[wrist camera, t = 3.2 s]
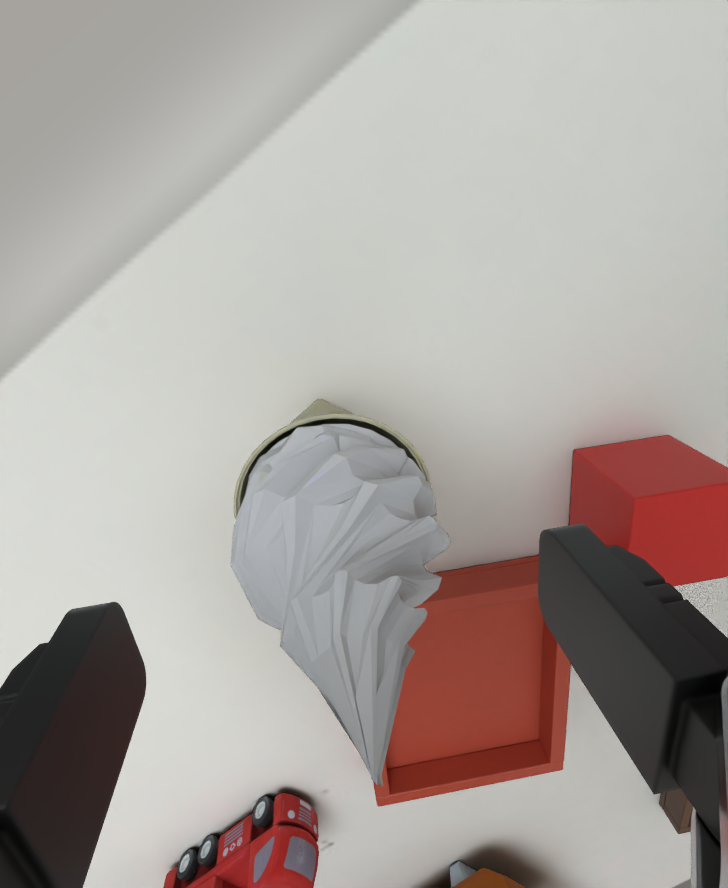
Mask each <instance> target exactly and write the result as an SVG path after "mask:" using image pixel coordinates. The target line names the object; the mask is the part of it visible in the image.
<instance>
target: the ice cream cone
mask: <svg viewBox="0 0 728 888" xmlns="http://www.w3.org/2000/svg"><path fill="white" fill-rule="evenodd" d="M435 515H436V507H435V502H434V496H433V491H432V488H431V483H430V479H429V475H428V471H427V469H426V467H425V465H424V462H423V460H422V458H421V457H420V455H419V454H418V453H417V451H416V450H415V448H414V447H413V446H412V445H411V444H410V443H409V442H408V441H407V440H406V439H405V438H404V437H403V436H402V435H401V434H399V433H398V432H396V431H395V430H393V429H391V428H390V427H388V426H387V425H385V424H382V423H380V422H377V421H375V420H372V419H370V418H366V417H361V416H356V415H354V414H352V413H350V412H348V411H346V410H343V409H341V408H339V407H337V406H335V405H333V404H331V403H329V402H326V401H324V400H322V399H318V400H316V401H315V402H314V403H313V404H312V405H310V406H309V407H308V408H307V409H306V410H305V411H304V412H302V413H301V414H300V415H299V416H298V417H297V418H296V419H295V420H293V421H292V422H291V423H290V424H289V425H288V426H286V427H284V428H282V429H280V430H278V431H277V432H276V433H274V434H273V435H271V436H270V437H269V438H267V439H266V440H265V441H264V442H263V443H262V444H261V445H260V446H259V447H258V448H257V449H256V450H255V451H254V452H253V453H252V455H251V456H250V458H249V459H248V461H247V462H246V464H245V465H244V467H243V469H242V471H241V473H240V476H239V478H238V481H237V484H236V489H235V494H234V516H235V520H236V521H235V523H234V529H233V542H232V556H231V567H232V569H233V571H234V573H235V575H236V577H237V579H238V581H239V583H240V585H241V587H242V589H243V590H244V592H245V594H246V596H247V598H248V600H249V602H250V604H251V606H252V608H253V610H254V612H255V614H256V615H257V617H258V619H259V620H261V621H263V622H264V623H266V624H268V625H270V626H272V627H275V628H277V629H279V630H281V642H280V646H281V648H282V649H283V650H284V651H285V652H286V653H287V654H288V655H289V656H290V657H291V658H292V660H293V661H294V662H295V663H296V664H297V665H298V666H299V667H300V668H301V669H302V671H303V672H304V673H305V674H306V675H307V676H308V677H309V678H310V679H311V680H312V681H313V683H314V684H315V685H316V686H317V687H318V689H319V691H320V692H321V694H322V695H323V697H324V698H325V700H326V702H327V703H328V705H329V706H330V708H331V709H332V711H333V712H334V714H335V716H336V717H337V719H338V720H339V722H340V723H341V725H342V727H343V728H344V730H345V731H346V733H347V734H348V736H349V738H350V739H351V741H352V742H353V744H354V745H355V747H356V748H357V750H358V752H359V754H360V755H361V757H362V759H363V761H364V763H365V765H366V767H367V769H368V770H369V772H370V775H371V778H372V780H373V781H374V782H375V784H376V785H378V783H379V784H380V786H381V784H382V785H383V780H382V771H383V767H384V762H385V758H386V753H387V749H388V744H389V740H390V736H391V731H392V727H393V722H394V718H395V713H396V709H397V705H398V700H399V696H400V691H401V687H402V682H403V678H404V673H405V669H406V667H407V666H408V664H409V662H410V660H411V658H412V657H413V655H414V653H415V650H413V649H412V648H411V647H410V646H409V645H408V644H407V642H408V641H409V640H410V639H411V637H412V636H413V635H414V633H415V632H416V631H417V630H418V628H419V627H420V626H421V625H422V623H423V622H424V621H425V619H426V616H427V611H426V609H425V608H417V609H415V608H414V607H416V606H418V605H420V604H422V603H423V602H424V601H425V600H426V599H428V598H429V597H430V596H431V595H432V594H433V593H434V592H436V591H437V590H438V588H439V585H440V582H441V579H442V577H440V576H437V575H435V574H432V573H430V572H427V570H426V569H425V567H424V566H423V565H424V564H426V563H427V562H429V561H430V560H432V559H434V558H435V557H436V556H438V555H439V554H440V553H442V552H443V551H445V550H446V549H447V547H448V545H449V544H450V542H451V541H450V538H449V536H448V533H447V532H446V531H445V530H444V529H443V528H442V527H441V526H440V525H439V524H438V523H437V521H436V520H434V519H433V518H432V516H435ZM381 788H382V787H381Z"/></svg>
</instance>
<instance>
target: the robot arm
mask: <svg viewBox="0 0 728 888" xmlns="http://www.w3.org/2000/svg"><path fill="white" fill-rule="evenodd" d="M538 600H539V605H540V609H541V613H542V616H543V618H544V621H545V623H546V625H547V626H548V628H549V630H550V631H551V633H552V635H553V636H554V638H555V639H556V641H557V642H558V644H559V646H560V647H561V649H562V650H563V652H564V653H565V655H566V657H567V658H568V660H569V661H570V663H571V664H572V666H573V668H574V669H575V671H576V672H577V674H578V675H579V677H580V679H581V680H582V682H583V683H584V685H585V686H586V688H587V690H588V691H589V693H590V694H591V696H592V697H593V699H594V701H595V702H596V704H597V705H598V707H599V709H600V710H601V712H602V713H603V715H604V716H605V718H606V720H607V721H608V723H609V724H610V726H611V727H612V729H613V731H614V732H615V734H616V735H617V737H618V738H619V740H620V742H621V743H622V745H623V746H624V748H625V749H626V751H627V753H628V754H629V756H630V757H631V759H632V760H633V762H634V764H635V765H636V767H637V768H638V770H639V772H640V773H641V775H642V776H643V778H644V779H645V781H646V783H647V784H648V786H649V787H650V789H651V790H652V792H653V794H658V793H663V792H668V791H672V790H677V789H681V790H682V791H683V793H684V794H685V796H686V797H687V798H688V800H689V801H690V803H691V804H692V806H693V810H692V815H691V888H728V638H727V637H726V636H725V635H724V634H723V633H722V632H720V631H719V630H718V629H717V628H716V627H715V626H714V625H713V624H712V623H711V622H710V621H709V620H708V619H707V618H706V617H705V616H704V615H702V614H701V613H700V612H699V611H698V610H697V609H696V608H695V607H694V606H693V605H692V604H691V603H690V602H689V601H688V600H684V599H683V598H682V595H681V594H680V593H679V592H678V591H677V590H676V589H675V588H674V587H673V586H672V585H671V584H670V583H666V582H665V579H664V578H663V577H662V576H661V575H660V574H659V573H658V572H657V571H656V570H655V569H654V568H653V567H652V566H651V565H650V564H648V563H647V562H646V561H645V560H644V559H642V558H640V557H639V556H637V555H635V554H633V553H631V552H629V551H627V550H625V549H623V548H621V547H619V546H618V545H613V546H608V547H607V546H606V545H605V544H604V543H603V542H602V541H601V540H600V539H599V538H598V537H597V536H596V535H595V534H594V533H593V532H592V531H591V530H590V529H589V528H588V527H587V526H586V525H584V524H576V525H570V526H564V527H558V528H553V529H547V530H543V531H542V532H541V535H540V541H539V570H538ZM145 690H146V672H145V666H144V662H143V659H142V657H141V654H140V652H139V649H138V647H137V644H136V642H135V639H134V636H133V634H132V631H131V629H130V626H129V624H128V621H127V618H126V616H125V613H124V611H123V609H122V607H121V606H120V605H119V604H118V603H117V602H111V603H105V604H99V605H94V606H88V607H82V608H76V609H72V610H70V611H69V612H67V614H66V615H65V616H64V618H63V620H62V621H61V623H60V625H59V626H58V628H57V630H56V631H55V633H54V635H53V636H52V638H51V640H50V641H49V643H43V644H39V645H38V646H37V647H36V648H35V649H34V650H33V651H32V652H31V653H30V654H29V655H28V656H27V657H26V658H24V659H23V660H22V661H21V662H20V663H19V664H18V665H17V666H16V667H15V668H14V669H13V670H12V671H11V673H10V674H9V676H8V677H7V679H6V680H5V682H4V684H3V685H2V687H1V688H0V888H83V885H84V882H85V879H86V875H87V872H88V869H89V866H90V863H91V860H92V857H93V854H94V851H95V848H96V845H97V842H98V839H99V835H100V832H101V829H102V826H103V823H104V820H105V817H106V814H107V811H108V808H109V805H110V802H111V799H112V795H113V792H114V789H115V786H116V783H117V780H118V777H119V774H120V771H121V768H122V765H123V762H124V759H125V756H126V752H127V749H128V746H129V743H130V740H131V737H132V734H133V731H134V728H135V725H136V722H137V719H138V716H139V712H140V709H141V706H142V703H143V700H144V696H145Z"/></svg>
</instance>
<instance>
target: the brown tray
mask: <svg viewBox="0 0 728 888" xmlns="http://www.w3.org/2000/svg"><path fill="white" fill-rule="evenodd" d="M659 804H660V806H661V807H662V809H663V810H664V812H665V814H666V815H667V817H668V818H669V820H670V822H671V823H672V825H673V826H674V828H675V830H676V831H677V833H678V834H681V833H686V832H691V815H692V810H693V806H692V804H691V803H690V801H689V800H688V798H687V797H686V796H685V794H684V793H683V791H682V790H681V789H677V790H672V791H668V792H663V793H661V798H660V803H659Z"/></svg>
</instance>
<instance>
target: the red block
mask: <svg viewBox="0 0 728 888" xmlns="http://www.w3.org/2000/svg"><path fill="white" fill-rule="evenodd" d="M576 524H584V525H586V526H587V527H588V528H589V529H590V530H591V531H592V532H593V533H594V534H595V535H596V536H597V537H598V538H599V539H600V540H601V541H602V542H603V543H604V544H605V545H606V546H607V547H608V546H613V545H618V546H619V547H621V548H623V549H625V550H627V551H629V552H631V553H633V554H635V555H637V556H639V557H640V558H642V559H644V560H645V561H646V562H647V563H648V564H650V565H651V566H652V567H653V568H654V569H655V570H656V571H657V572H658V573H659V574H660V575H661V576H662V577H663V578H664V579H665V582H666V583H670V584H671V585H672V586H678V585H684V584H689V583H695V582H701V581H706V580H712V579H717V578H723V577H727V576H728V468H727V467H725V466H724V465H722V464H720V463H718V462H716V461H715V460H713V459H711V458H709V457H708V456H706V455H704V454H702V453H700V452H699V451H697V450H695V449H693V448H691V447H690V446H688V445H686V444H684V443H682V442H681V441H679V440H677V439H675V438H674V437H672V436H670V435H664V436H658V437H652V438H645V439H639V440H633V441H626V442H620V443H614V444H608V445H601V446H595V447H589V448H582V449H576V450H574V454H573V471H572V487H571V503H570V520H569V526H570V525H576Z"/></svg>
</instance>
